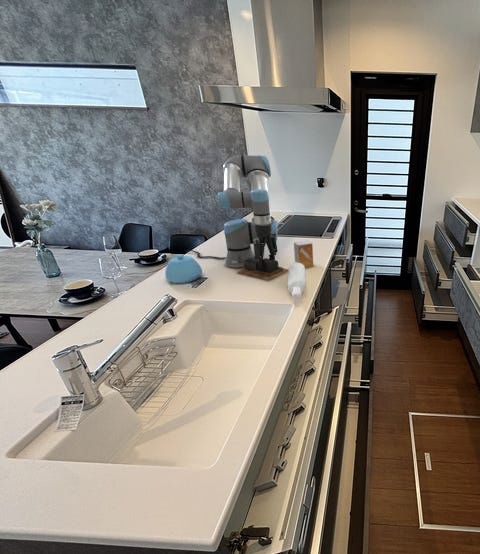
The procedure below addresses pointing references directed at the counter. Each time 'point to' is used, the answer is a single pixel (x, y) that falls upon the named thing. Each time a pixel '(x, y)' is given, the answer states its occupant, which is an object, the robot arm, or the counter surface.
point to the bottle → (297, 280)
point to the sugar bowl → (182, 269)
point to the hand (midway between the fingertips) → (268, 269)
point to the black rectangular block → (269, 265)
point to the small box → (304, 253)
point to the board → (253, 271)
